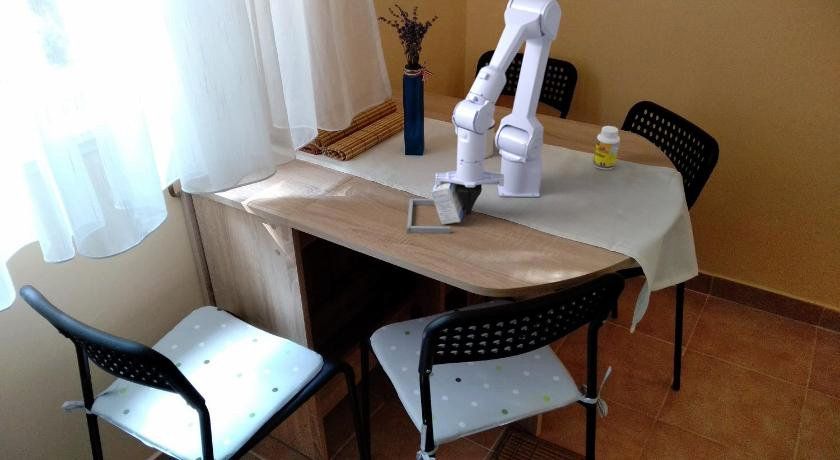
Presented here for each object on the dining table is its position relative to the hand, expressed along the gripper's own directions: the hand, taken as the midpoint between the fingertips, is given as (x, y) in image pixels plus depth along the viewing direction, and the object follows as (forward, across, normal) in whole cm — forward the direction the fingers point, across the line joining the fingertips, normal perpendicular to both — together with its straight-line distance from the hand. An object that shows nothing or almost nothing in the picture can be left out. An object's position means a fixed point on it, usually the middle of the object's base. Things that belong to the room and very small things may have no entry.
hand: (468, 212), depth 140 cm
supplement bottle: (+2, +36, +26) cm, 44 cm away
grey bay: (+1, -8, 0) cm, 9 cm away
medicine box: (+1, -3, 0) cm, 3 cm away
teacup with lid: (+2, +3, +34) cm, 35 cm away
